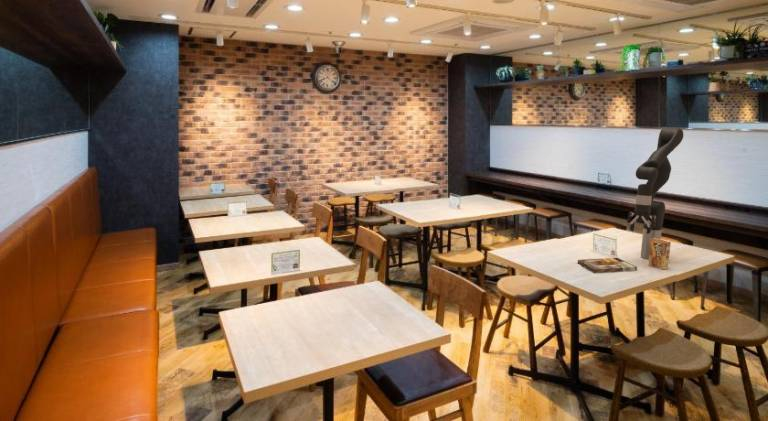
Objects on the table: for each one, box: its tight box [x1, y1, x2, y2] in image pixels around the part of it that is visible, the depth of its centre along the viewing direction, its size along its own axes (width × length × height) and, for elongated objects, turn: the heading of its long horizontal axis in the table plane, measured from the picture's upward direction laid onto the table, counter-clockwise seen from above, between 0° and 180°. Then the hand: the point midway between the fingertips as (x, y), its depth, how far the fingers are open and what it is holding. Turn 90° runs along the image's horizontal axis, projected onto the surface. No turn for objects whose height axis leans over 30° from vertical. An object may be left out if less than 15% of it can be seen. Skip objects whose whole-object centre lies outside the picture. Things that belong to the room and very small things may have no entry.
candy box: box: [647, 238, 672, 270], centre depth 260 cm, size 9×4×15 cm, turn 34°
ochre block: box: [601, 257, 619, 265], centre depth 259 cm, size 6×6×3 cm
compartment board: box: [577, 257, 638, 274], centre depth 263 cm, size 24×17×4 cm
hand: (640, 232), depth 267 cm, fingers open, 8 cm apart
